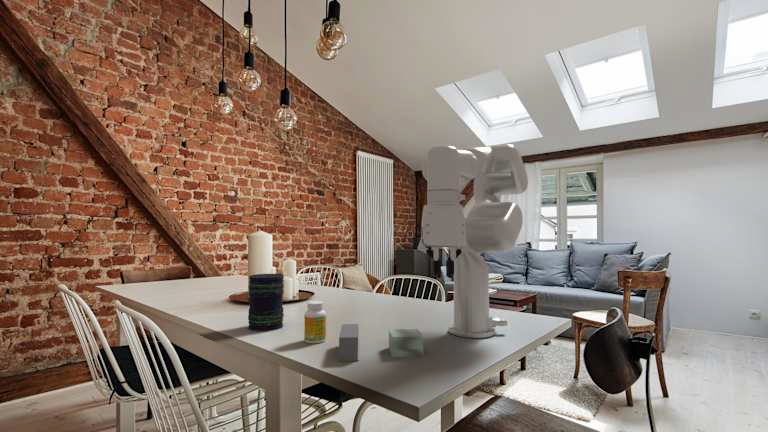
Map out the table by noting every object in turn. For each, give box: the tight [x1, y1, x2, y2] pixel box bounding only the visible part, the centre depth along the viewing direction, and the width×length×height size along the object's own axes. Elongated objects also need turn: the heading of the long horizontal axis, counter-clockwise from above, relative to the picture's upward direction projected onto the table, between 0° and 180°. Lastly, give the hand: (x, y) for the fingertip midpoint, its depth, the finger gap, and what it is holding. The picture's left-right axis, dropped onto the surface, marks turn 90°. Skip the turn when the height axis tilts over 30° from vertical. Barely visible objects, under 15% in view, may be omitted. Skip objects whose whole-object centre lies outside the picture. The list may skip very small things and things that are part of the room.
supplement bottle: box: [303, 300, 327, 344], centre depth 99 cm, size 5×5×10 cm
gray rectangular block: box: [338, 323, 359, 362], centre depth 90 cm, size 4×12×5 cm, turn 3°
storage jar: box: [247, 273, 285, 332], centre depth 113 cm, size 10×10×15 cm
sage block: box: [388, 328, 424, 358], centre depth 90 cm, size 7×7×4 cm
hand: (443, 276), depth 91 cm, fingers closed
